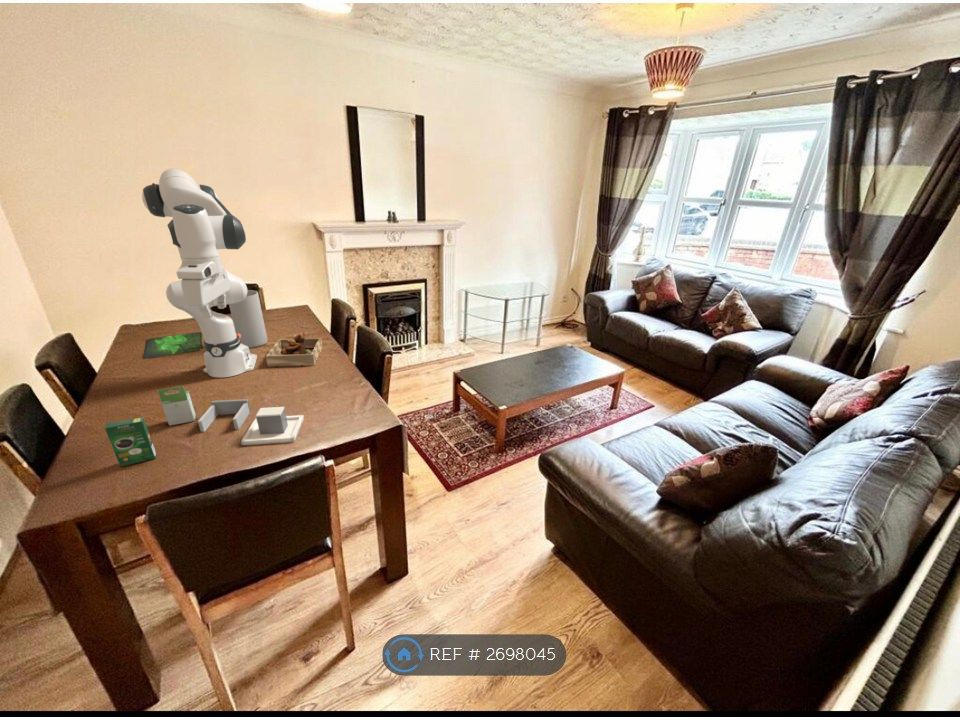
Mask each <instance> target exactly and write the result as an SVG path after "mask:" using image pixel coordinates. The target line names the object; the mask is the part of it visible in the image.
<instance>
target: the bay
mask: <svg viewBox="0 0 960 720" xmlns="http://www.w3.org/2000/svg"><path fill="white" fill-rule="evenodd" d="M210 403H211V405H210V407H209V408H208V409H207V410H206V412H205V413H203V415H202V416H201V417H200V418H199V419H198V420H197V423H198V427H199V430H200V433H204V432H206V431H207V430H208V429H209V427H210V425H212V423H213V422H214V421H215V419H216V418H217V416H219V415H221V416H223V415H234V417H233V418H232V421H233V425H234V430H237V431H238V430H240V429H241V428H242V426H243V424H244V423H245V421H246V420H247V418H248V417H249V415H250V413H251V407H250V403H249V399H248V398H244V399H241V398H240V399H224V400H223V399H221V400H212V401H211V402H210Z"/></svg>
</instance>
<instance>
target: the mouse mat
mask: <svg viewBox="0 0 960 720" xmlns="http://www.w3.org/2000/svg"><path fill="white" fill-rule="evenodd" d="M202 338H203V335H202V331H197V332H189V333H187V332H186V333H181V334H175V335H173V334H172V335H166V336H160V337H153V338H148V339H146V343H145V348H144V351H143V355H142V359H143V360H152V359H155V358H164V357H170V356H175V355H182V354H189V353H190V354H191V353H195V352H200V351H201V350H200V349H202V350H203V339H202Z"/></svg>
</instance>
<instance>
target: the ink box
mask: <svg viewBox="0 0 960 720" xmlns="http://www.w3.org/2000/svg"><path fill="white" fill-rule="evenodd" d="M170 391H177V392H172V393H167V392H170ZM156 392H157V393H158V396H159V399H160V403H161V407H162V408H163V411H164V412H163V413H164V415H165V417H166V418H165V419H166V421H167V424H168V425H169V427H171V426H175V425H180V424H185V423H186V424H187V423H191V422H195V421H196V417H197V414H196V410H195V408H194V407H195V406H194V404H193V401H192V397H191V394H190V391H189V390H186V389H185V387H184V385H179V386H174V387H168V388H163V389H162V388H161V389H157V391H156Z"/></svg>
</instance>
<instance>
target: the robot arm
mask: <svg viewBox="0 0 960 720" xmlns="http://www.w3.org/2000/svg"><path fill="white" fill-rule="evenodd" d="M141 194H142V195H141V199H142V203H143V204H144V207H145V208H146V209H147V211H149V213H150V214H151V215H152V216H154V217H158V218H167V217H168V218H169V217H170V218H172V219H171V220H170V221H169V222H168V224H167V229H168V230H169V234H170V236H171V240H172V241H171V242H172V245H173V246H176V247H177V249H178V254H179V257H180V260H181V264H180V266H179V268H178V269H177V270H176V276H177V278H178V279H179V280H177V281H174V282H171V283H169V284H168V285H167V287H166V291H165V295H166V299H167V301H168V302H169V303H170V304H171V305H172V306H173V307H174V308H176V309H178V310H181V311H183V312H185V313H187V314H188V315H190V316H191V317H192V318H193V319H194V320H195V321H196V323H197V324H198V326H199V328H200V332H201V335H202V338H203V347H204V349H205V352H204V353H203V357H204V358H203V359H204V364H205V367H204V368H203V373H205V374H208V375H209V376H210V377H212V378H228V377H234V376H237V375H241V374H243V373H245V372H250V371H253V370H254V369H255V365H256V362H257V359H258V355H257V354H254V353H251V351H250V348H249V347H248V346H246V345H244V344H242V343H241V342H240V340H239V338H241V334H236V331H235V327H234V323H233V319H232V317H230V316H228V315H227V314H224V313H219V312H216V311H213V310H212V309H211V308H212V307H217V308H218V309H220V310H222V309H223V310H224V309H225V308H226V307H227V305H229V304H233V303H237V302H240V301H243V300H244V299H245V298H246V296H247V290H248V287H247V284H246V283H245V282H244V280H243V279H242V278H241V277H239V276H236V275H235V274H232V273H231V272H230V271H228V270H227V269H226V268H225V267H224V266H223V264H222V259H221V256H220V252H219V251H218V250H239V249H240V248H241V247H243V245H244V244H245V243H246V242H247V239H246V238H247V235H246V230H245V227H244V225H243V224H242V222H241V220H240V219H238V218H237V217H236V216H234V215H233V214H232V213H231V212H230V211H229V209H227V207H226V206H225V204H223V203H222V201H220V199H219V197H218V195H217V193H216V192H215V191H214V189H213V188H212V187H211V186H209V185H205V184H198V183H197V182H196V180H195V179H194V178H193V176H191V175H190V174H189V173H188V172H186V171H184V170H182V169H179V168H169V169H166V170H164V171H163V172H162V173H161V174H160V177H159V182H158V183H154V182H153V183H151V184H149V185H146V186H145V187H144V188H142V193H141Z"/></svg>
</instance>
